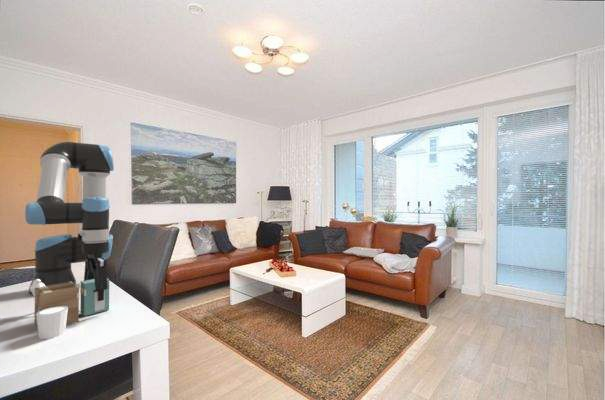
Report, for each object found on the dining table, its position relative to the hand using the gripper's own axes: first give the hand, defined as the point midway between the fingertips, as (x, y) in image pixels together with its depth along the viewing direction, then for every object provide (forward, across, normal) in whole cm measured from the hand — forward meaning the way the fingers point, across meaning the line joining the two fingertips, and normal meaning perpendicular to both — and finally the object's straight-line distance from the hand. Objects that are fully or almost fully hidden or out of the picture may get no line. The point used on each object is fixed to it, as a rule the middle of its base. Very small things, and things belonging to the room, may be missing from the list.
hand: (94, 306), depth 94 cm
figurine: (+2, -13, -12) cm, 18 cm away
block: (+2, 0, 0) cm, 2 cm away
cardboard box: (+2, 0, -10) cm, 10 cm away
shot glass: (+2, +10, -13) cm, 16 cm away
